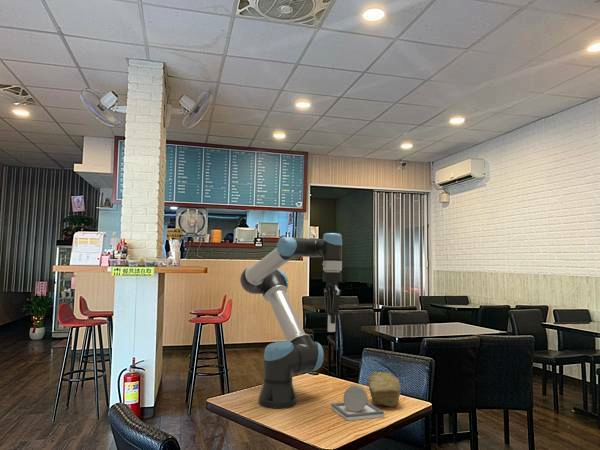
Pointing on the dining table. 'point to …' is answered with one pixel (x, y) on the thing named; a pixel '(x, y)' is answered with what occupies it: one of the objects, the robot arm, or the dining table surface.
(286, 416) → the dining table surface
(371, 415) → the plate
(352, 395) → the grey rounded piece
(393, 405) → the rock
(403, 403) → the dining table surface
